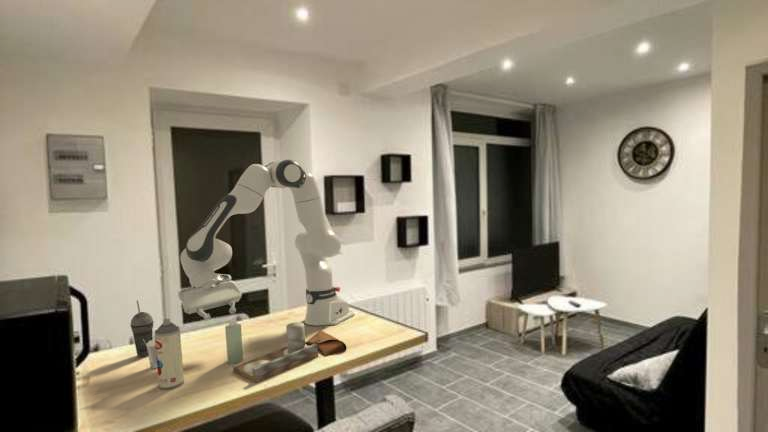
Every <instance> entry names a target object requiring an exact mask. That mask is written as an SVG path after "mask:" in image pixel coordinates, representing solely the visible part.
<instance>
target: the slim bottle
mask: <svg viewBox="0 0 768 432" xmlns="http://www.w3.org/2000/svg"><path fill="white" fill-rule="evenodd" d="M237 320H238V319H236V318H233V319H232V318H231V319H229V320H228V324H227V325H225V327H224V329H225V331H224V332H225V341H226V342H225V343H226V356H227V363H228V364H230V365H235V364H239V363H241V362H242V363H243V361H244V350H243V337H242V335H243V333H242V324H241V323H238V322H237Z"/></svg>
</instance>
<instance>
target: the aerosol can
mask: <svg viewBox="0 0 768 432" xmlns="http://www.w3.org/2000/svg"><path fill="white" fill-rule="evenodd" d="M170 320H171V319H170V318H163V323H162V324H161V325H160V326H158V327H157V329H156V330H155V331H154V339H155V346H156V358H157V368H156V369H157V378H158V379H157V381H158V388H159V389H160V390H162V391H165V390H166V391H167V390H174V389H176V388H180V387H181V386H182V385H184V383H185V377H184V364H183V353H182V339H181V329H180V327H179V326H178V325H176V324H175V323H173V322H171V321H170Z"/></svg>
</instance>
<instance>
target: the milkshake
mask: <svg viewBox="0 0 768 432" xmlns="http://www.w3.org/2000/svg"><path fill="white" fill-rule="evenodd" d="M143 340H144V339H143ZM144 342H145V341H144ZM146 346H147V351H148V360H149V367H150V369H152V370H155V369H157V358H156V346H155V338H152V340H151V341H149V342H148V343H147V344H146Z"/></svg>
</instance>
